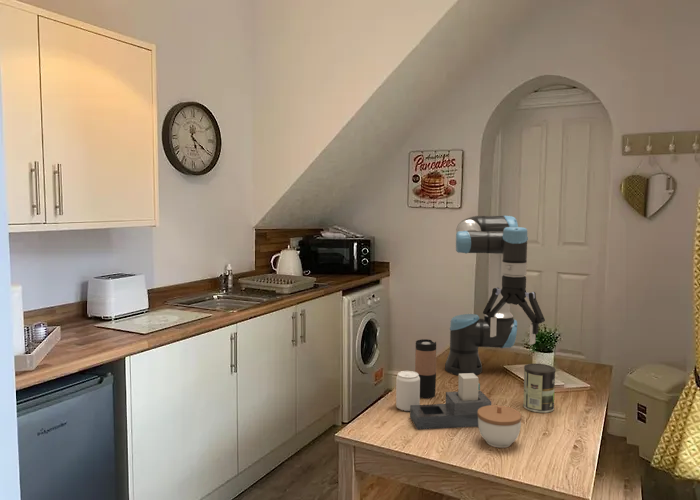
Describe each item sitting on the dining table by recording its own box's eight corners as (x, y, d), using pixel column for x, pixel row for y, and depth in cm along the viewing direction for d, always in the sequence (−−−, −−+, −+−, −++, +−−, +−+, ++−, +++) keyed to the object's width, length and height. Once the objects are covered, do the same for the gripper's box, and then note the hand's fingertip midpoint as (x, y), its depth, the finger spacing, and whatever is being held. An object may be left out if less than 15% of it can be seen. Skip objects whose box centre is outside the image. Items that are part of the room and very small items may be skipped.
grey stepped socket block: (410, 416, 183) (410, 393, 183) (480, 413, 186) (480, 390, 185) (417, 429, 173) (417, 405, 173) (490, 425, 176) (491, 401, 175)
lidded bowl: (468, 442, 165) (469, 406, 164) (491, 429, 173) (492, 395, 172) (506, 456, 156) (507, 418, 155) (528, 442, 164) (529, 406, 163)
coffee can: (551, 402, 196) (553, 364, 194) (556, 414, 186) (557, 373, 184) (521, 400, 198) (522, 362, 196) (524, 411, 188) (525, 371, 186)
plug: (458, 406, 182) (458, 373, 181) (475, 405, 183) (476, 372, 182) (462, 411, 177) (463, 378, 176) (480, 411, 178) (481, 377, 177)
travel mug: (413, 397, 200) (414, 344, 198) (416, 390, 208) (416, 338, 206) (434, 399, 199) (435, 345, 197) (436, 392, 206) (437, 339, 204)
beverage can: (421, 404, 194) (421, 371, 193) (417, 413, 186) (418, 378, 185) (398, 402, 196) (398, 369, 195) (394, 410, 189) (394, 376, 187)
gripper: (473, 272, 183) (472, 335, 185) (547, 280, 166) (544, 349, 169) (484, 270, 189) (483, 331, 191) (557, 277, 172) (554, 344, 174)
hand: (512, 340), depth 180 cm, fingers open, 13 cm apart
